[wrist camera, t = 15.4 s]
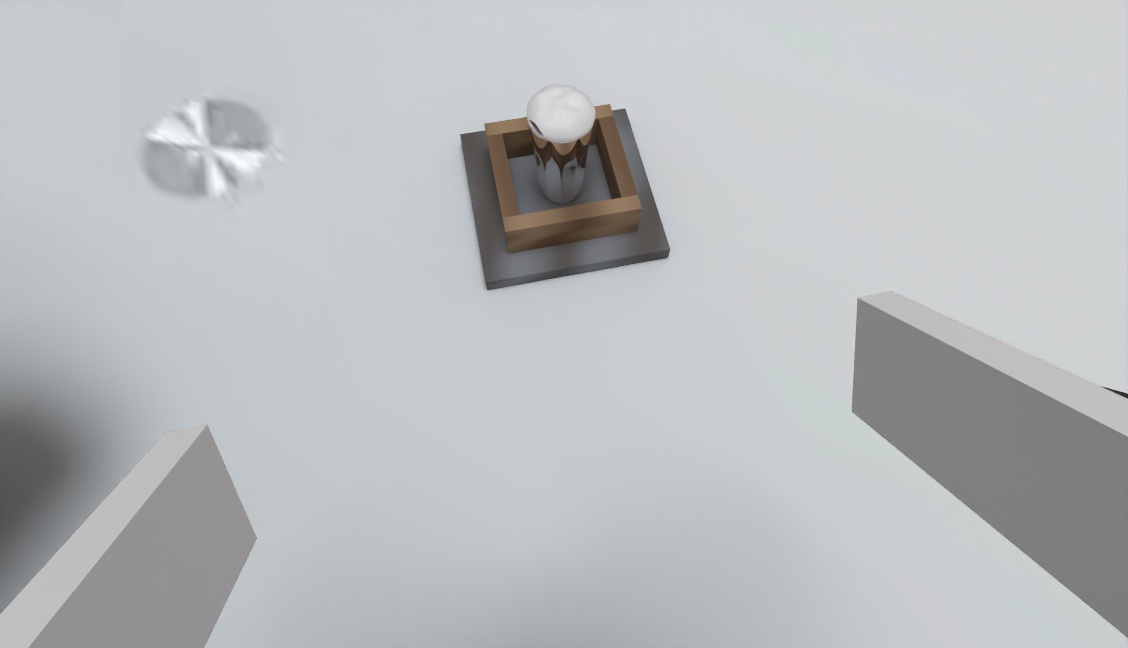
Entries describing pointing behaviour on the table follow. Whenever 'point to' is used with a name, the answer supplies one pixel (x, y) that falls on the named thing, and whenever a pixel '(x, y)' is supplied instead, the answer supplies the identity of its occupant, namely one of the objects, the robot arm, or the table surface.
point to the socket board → (560, 205)
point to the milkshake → (560, 139)
